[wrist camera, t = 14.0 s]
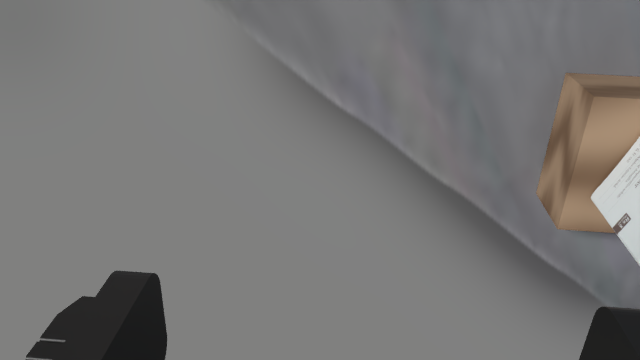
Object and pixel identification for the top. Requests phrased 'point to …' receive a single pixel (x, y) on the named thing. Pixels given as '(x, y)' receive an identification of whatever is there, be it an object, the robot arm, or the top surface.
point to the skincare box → (623, 200)
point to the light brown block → (587, 146)
